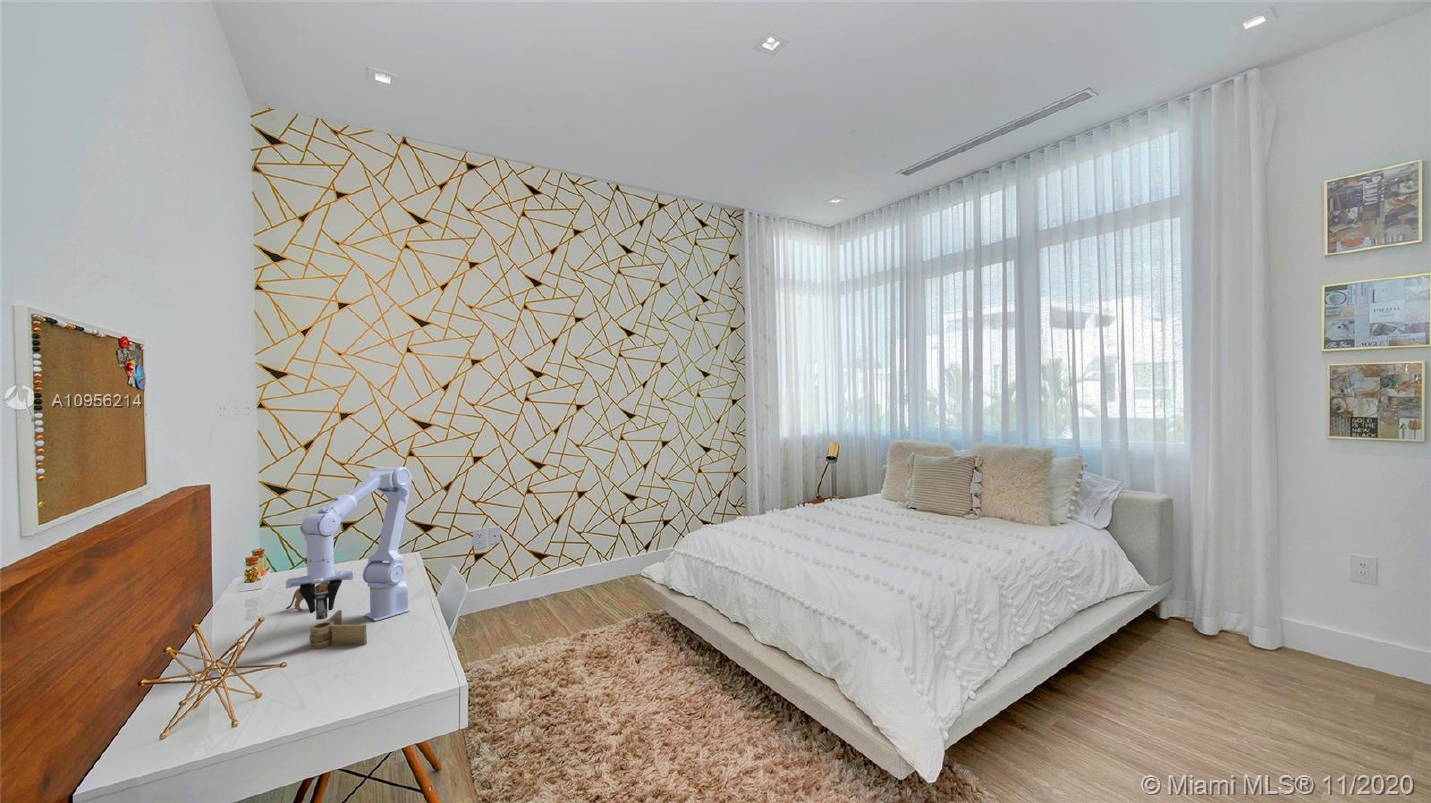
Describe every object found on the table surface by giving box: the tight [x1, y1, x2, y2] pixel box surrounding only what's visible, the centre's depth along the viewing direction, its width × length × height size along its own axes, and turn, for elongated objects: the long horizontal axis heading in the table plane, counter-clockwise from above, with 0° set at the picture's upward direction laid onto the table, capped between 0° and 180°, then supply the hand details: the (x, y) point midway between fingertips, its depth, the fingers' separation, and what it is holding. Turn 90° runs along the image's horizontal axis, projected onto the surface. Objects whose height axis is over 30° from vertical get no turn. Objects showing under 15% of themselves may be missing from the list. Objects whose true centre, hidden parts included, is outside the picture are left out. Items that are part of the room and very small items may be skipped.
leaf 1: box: [309, 609, 343, 642], centre depth 147 cm, size 14×5×4 cm, turn 16°
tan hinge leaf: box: [309, 620, 368, 650], centre depth 142 cm, size 14×5×5 cm, turn 86°
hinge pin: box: [313, 592, 328, 621], centre depth 142 cm, size 4×4×6 cm
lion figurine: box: [285, 582, 330, 612], centre depth 168 cm, size 15×5×9 cm, turn 104°
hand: (321, 610), depth 142 cm, fingers closed on hinge pin, 3 cm apart
